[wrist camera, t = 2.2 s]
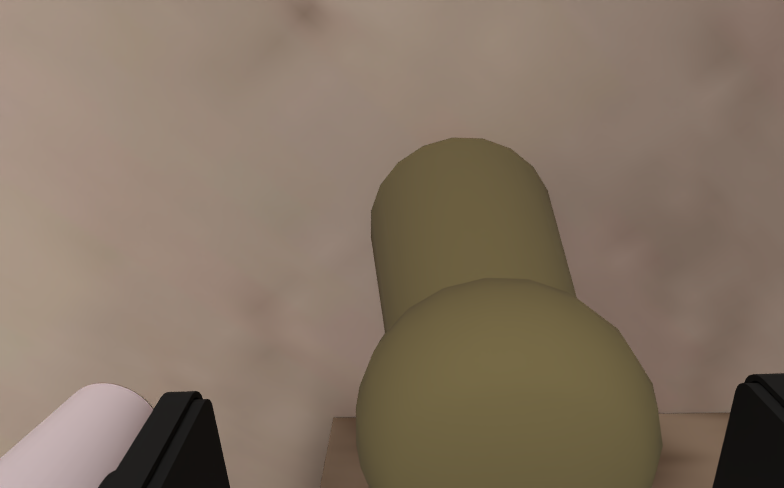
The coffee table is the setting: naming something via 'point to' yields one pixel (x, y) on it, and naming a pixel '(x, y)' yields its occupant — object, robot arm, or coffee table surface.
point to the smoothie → (77, 440)
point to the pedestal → (672, 479)
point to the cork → (492, 340)
